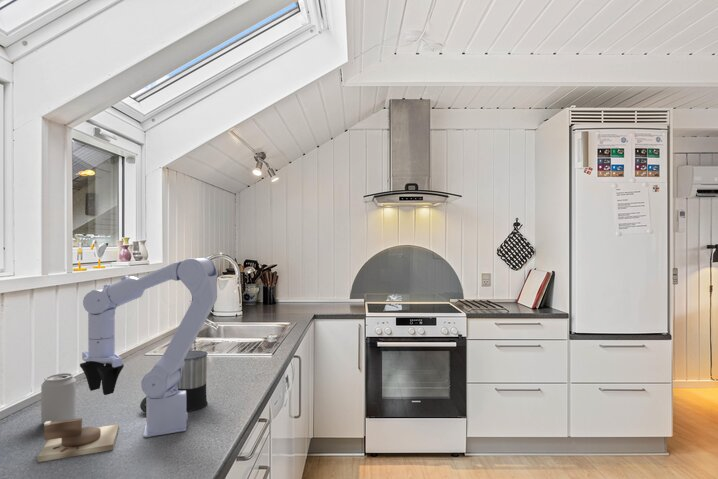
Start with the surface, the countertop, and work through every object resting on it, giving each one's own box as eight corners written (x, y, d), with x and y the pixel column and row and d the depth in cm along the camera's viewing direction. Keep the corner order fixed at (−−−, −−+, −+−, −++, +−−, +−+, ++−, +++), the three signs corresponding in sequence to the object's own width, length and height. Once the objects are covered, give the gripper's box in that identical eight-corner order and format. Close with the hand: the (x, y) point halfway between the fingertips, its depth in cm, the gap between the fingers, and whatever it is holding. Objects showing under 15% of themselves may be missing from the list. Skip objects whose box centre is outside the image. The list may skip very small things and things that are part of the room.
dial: (102, 429, 105) (102, 409, 105) (97, 442, 98) (97, 421, 98) (49, 437, 101) (49, 416, 101) (40, 452, 94) (40, 429, 94)
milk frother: (214, 403, 126) (214, 352, 126) (166, 423, 113) (166, 365, 113) (182, 395, 133) (182, 346, 134) (133, 412, 120) (133, 358, 120)
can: (82, 415, 118) (82, 371, 118) (64, 427, 110) (64, 380, 110) (53, 416, 117) (53, 371, 118) (34, 428, 110) (34, 380, 110)
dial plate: (119, 428, 109) (119, 423, 109) (113, 449, 98) (113, 443, 98) (52, 439, 104) (52, 433, 104) (37, 462, 93) (37, 455, 93)
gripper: (69, 337, 109) (69, 391, 109) (101, 343, 102) (101, 401, 102) (98, 332, 115) (98, 383, 115) (130, 338, 108) (130, 392, 108)
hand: (101, 391), depth 109 cm, fingers open, 6 cm apart
